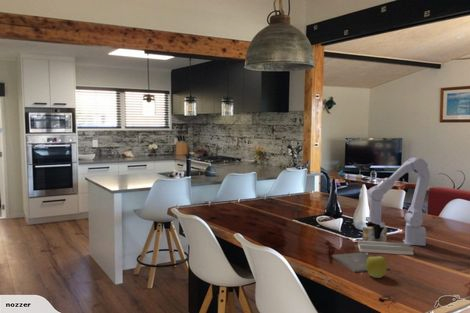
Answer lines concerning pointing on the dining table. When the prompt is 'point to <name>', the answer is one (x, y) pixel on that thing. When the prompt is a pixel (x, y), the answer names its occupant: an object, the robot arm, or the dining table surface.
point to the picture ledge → (385, 247)
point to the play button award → (354, 261)
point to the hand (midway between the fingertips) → (374, 237)
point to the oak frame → (370, 234)
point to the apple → (376, 266)
